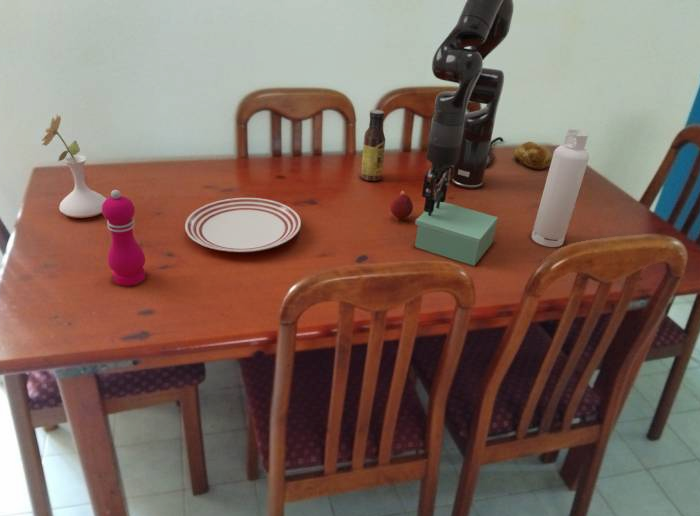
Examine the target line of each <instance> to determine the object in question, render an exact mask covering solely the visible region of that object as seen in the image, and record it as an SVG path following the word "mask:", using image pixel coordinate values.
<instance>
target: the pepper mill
mask: <svg viewBox="0 0 700 516" xmlns="http://www.w3.org/2000/svg"><path fill="white" fill-rule="evenodd" d="M135 211H136V210H135V205H134V203H133V201H132V200H131V198H128V197H126V196H124V195H122V193H121V191H119V190H118V189H113V190H112V191H111V192H110V197H108V198H106V200H105V201H104V203H103V205H102V213H101V214H102V216H103V217H104V219H105V220H107V221H106V225H107V229H108V230H109V231H110V233H111V246H110V249H109V250H108V251H109V252H108V256H107V265H108V267H109V268H110V270H112V276H113V277H112V278H113V281H114V283H115V284H117V285H119V286H123V287H124V286H126V287H131V286H136V285H139V284H140V283H142V282H143V281H144V280H145V279H146V273H145V267H144V266H145V263H146V256H145V253H144V251H143V249H142V247H141V246H140V244H139V243H138V242H137V241H136V238H135V235H134V231H133V230H134V227H135V221H134V218H133V217H134V215H135Z"/></svg>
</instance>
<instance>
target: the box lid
mask: <svg viewBox="0 0 700 516" xmlns="http://www.w3.org/2000/svg"><path fill="white" fill-rule="evenodd" d="M443 196H444V192H443V191H442V190H439V191H438V192H437V195H436V199H435V205H434V211H433V212H432V213H428V212H425V211H424V212H423V213H422V214H421V215H420V216H418V217H417V218H416V219H415V223H414V224H415V225H416V226H418V225H419V226H422V227H426V228H429V229H432V230H436V231H439V232H442V233H445V234H449V235H452V236H455V237H459V238H462V239H465V240H469V241H472V242H475V243H480V242H481V241H482V239H483V238H484V237H485V236H486V235H487V233H488V232H489V231H490V230H491V228H492V227H493V226H494V225H495V224H496V222H497V223H498V220H499V216H495V215H493V214H488V213H485V212H481V211H477V210H473V209H470V208H466V207H463V206H461V205H460V206H459V205H456V204H452V203H448V202H445V201H444V202H440V200H441V198H442V197H443Z"/></svg>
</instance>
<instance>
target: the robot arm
mask: <svg viewBox="0 0 700 516" xmlns="http://www.w3.org/2000/svg"><path fill="white" fill-rule="evenodd" d="M514 6H515V5H514V1H513V0H466V2H465V3H464V6H463V8H462V11H461V13H460V15H459V18H458V20H457V23H456V25H455V26H454V27H453V28H452V30H451V31H450V32H449V34H448V35H447V36H446V38H445V39H444V40H443V41H442V43H440V45H439V46H438V48H437V49H436V51H435V53H434V55H433V57H432V62H431V71H432V74H433V76H434V77H435V78H436V79H438V80H440V81H444V82H449V83H454V84H458V88H457V90H454V91H453V90H452V91H449V90H447V91H441V92H439V93H438V94H437V95H436V97H435V102H434V108H433V115H432V121H431V124H430V128H429V134H428V141H427V149H426V156H425V157H426V159H427V161H429V162H430V163H431V167H430V168H429V171H428V172H425V173H424V177H423V178H424V179H423V185H422V191H421V192H422V193H421V197H422V198H425V200H424V206H423V211H424V212H428V213H432V212H433V211H434V205H435V199H436V195H437V192H438V191H439V190H442V191H443V192H444V196H443V197H442V198H441V200H440V202H445V201H446V198H447V193H448V188H449V187H450V184H451V183H452V184H453V185H455V186H457V187H458V188H459V187H460V188H462V189H467V190H468V189H470V190H471V189H473V190H474V189H479V188H481V187H482V186H483V183H484V178H485V177H484V175H485V172H486V168H488V167H489V166H490V165H491V164H492V163H493V161H494V159H493V158H494V155H493V153H492V150H491V147H492V145H493V144H495V143H496V142H498V141H500V142H504V138H503V137H501V136H497V137H495V138H494V139H492V137H493V132H494V127H495V122H496V116H497V112H498V107H499V104H500V101H501V96H502V92H503V88H504V83H505V74H504V71H503V70H502V69H496V68H490V67H489V68H488V67H484V66H483V65H484V60H485V59H486V58H487V57H488V56H489V55H490V54H491V53H492V52H493V51H494V50H495V49H496V48H497V47H499V45H501V44H502V43H503V41H505V39H506V38H507V36H508V35H509V32H510V29H511V24H512V19H513V14H514V8H515V7H514ZM468 47H469V48H468ZM469 103H477V104H482V105H485V106H484V107H483V108H481V109H478V110H475V111H470V112H467V108H468V104H469ZM488 156H489V160H488Z"/></svg>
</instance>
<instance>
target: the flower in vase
mask: <svg viewBox="0 0 700 516" xmlns="http://www.w3.org/2000/svg"><path fill="white" fill-rule="evenodd" d="M61 120H62V117H61V115H58V114H56V115H55V117H52V118H51V120H50V125H49V126H48V127H46V128H45V133H46V134H45V135H44V136H43V137H42V139H41V142H42V146H44V147H45V146H48V145H49V144H51V142H52V140H53V139H54V138H55V136H56V135H57V136H58V138H59V139H60V140H61V141H62V143H63V145H64V146H65V148H66V150H63V151H62V152H61V154H60V155H59V157H58V162H62V161H63V162H64V163H65V164H66V165H67V166H68V167H69V169H70V171H71V173H72V174H71V175H72V176H73V181H74V188H73V190H72V191H70V193H68V194H67V195H66V196H65V197H64V198H63V199H62V201H61V202H60V204H59V207H58V208H59V209H58V210H59V211H60V212H61V213H62V214H63V215H65V216H67V217H70V218H77V219H79V218H80V219H84V218H91V217H96V216H99V215H101V214H103V213H102V205H103V203H104V201H105V200H106V199H107V198H106V197H105V196H104V195H102V194H100V193H98V192H97V191H95V190H92V189H91V188H89V187H88V186H87V184H86V181H85V176H84V174H85V173H84V166H85V163H86V161H87V159H88V158H87V157H86V156H85V155H81V154H80V155H79V153H80V151H81V149H80V148H81V147H80V146H79V144H78V142H77V140H76V139H75V140H73V142H71V143H70V144H69V145H67V142H65V140H64V138H63V137H62V136H61V135H60V133H59V131H58V130H59V128H60V124H61V122H62V121H61ZM68 153H69V155H70V156H67V155H68Z"/></svg>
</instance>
